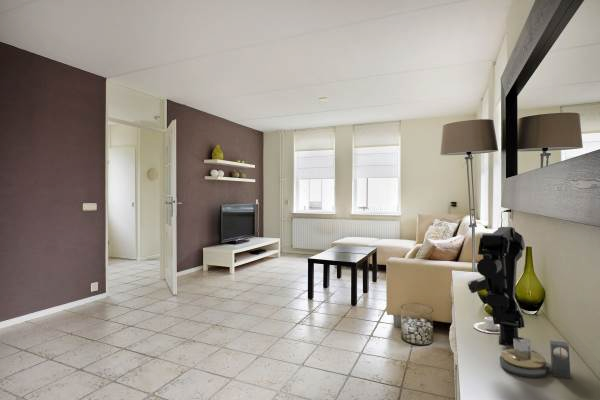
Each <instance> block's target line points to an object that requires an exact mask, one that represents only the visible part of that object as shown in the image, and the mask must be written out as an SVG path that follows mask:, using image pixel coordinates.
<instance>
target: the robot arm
mask: <svg viewBox="0 0 600 400" xmlns="http://www.w3.org/2000/svg"><path fill="white" fill-rule="evenodd" d="M524 251H525V240H524V238H523V236H522V234H520V233H519V232H517V231H516V230H515V227H512V226H499V227H498V228H497V229H496V230H495V231H493V232H492V233H491V232H484V233H482V235H481V236H480V237H479V245H478V249H477V255H480V256H482V258H481V259H480V260H478V262H477V264H476V270H477V272H478V273H479V274H480V276H482V277H479V278H475V279H472V280H470V281H468V282H467V286H468V289H469V290H470V294H475V293H476V292H477V293H478V292H480V291H483V290H485V292H486V294H485V304H486V305H487V306H489V307H490V308H491V309H492V310H491V313H492V316H491V317H493V321H494V324H499V327H498V328H499V332H500V333H499V335H498V343H499V344H501V345H508V346H514V343H513V338H516V337H520V336H519V329H520V330H521V329H522V328H525V319H524V315H523V314H522V311H521V310H520V306H519V304H518V303H517V301H516V284H517V283H516V281H517V268H518V267H517V265H518V261H519V260H520V259H521V258H522V257H523V252H524Z"/></svg>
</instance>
